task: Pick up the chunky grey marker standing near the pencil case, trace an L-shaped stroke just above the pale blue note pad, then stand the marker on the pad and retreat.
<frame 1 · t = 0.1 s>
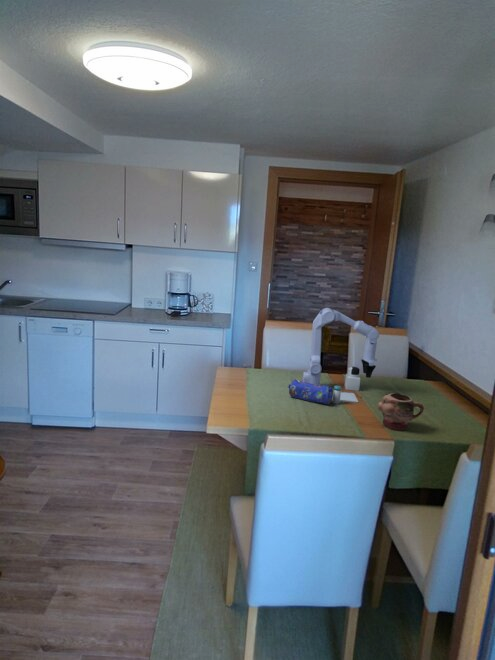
hand: (366, 375, 233), 10 cm above the table, fingers open, 7 cm apart
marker: (336, 402, 218), on the table
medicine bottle: (351, 388, 242), on the table
pencil case: (309, 400, 219), on the table
brown sculpted mug: (397, 426, 194), on the table
note pad: (347, 397, 227), on the table
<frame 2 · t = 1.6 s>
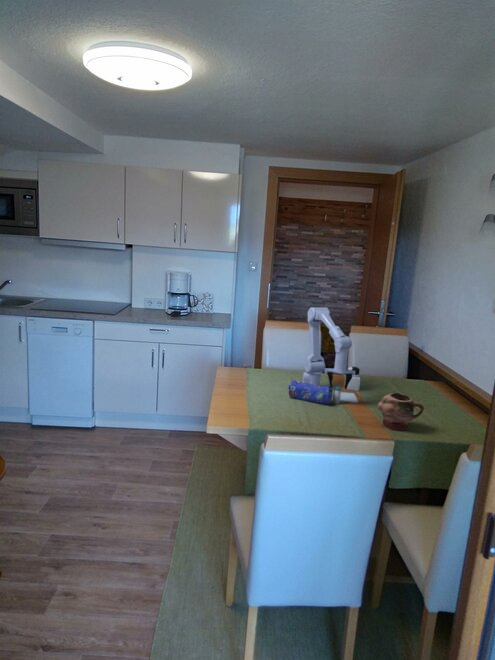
hand: (338, 387, 216), 8 cm above the table, fingers open, 7 cm apart
pencil case: (309, 401, 219), on the table, touching gripper
everything else where it was.
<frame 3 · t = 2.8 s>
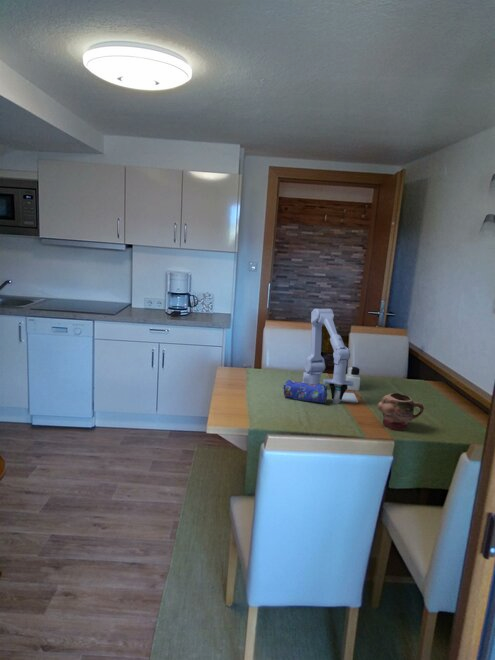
hand: (336, 398, 217), 2 cm above the table, fingers closed on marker, 3 cm apart
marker: (336, 402, 218), on the table, touching gripper
pencil case: (304, 400, 219), on the table
everything else where it was.
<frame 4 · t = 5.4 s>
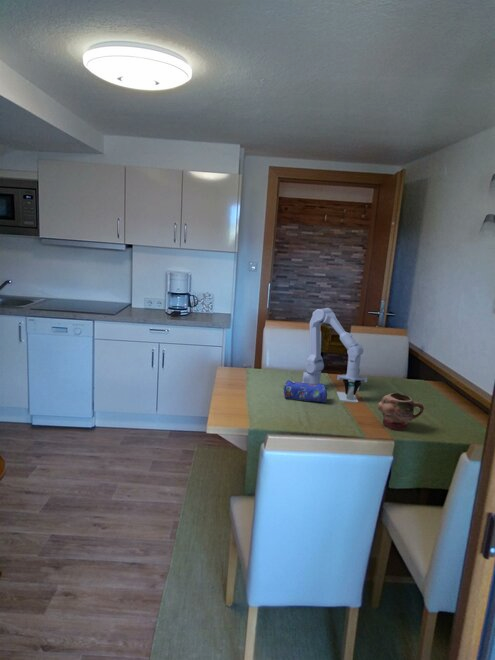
hand: (350, 394, 222), 3 cm above the table, fingers closed on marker, 3 cm apart
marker: (349, 398, 223), point 1 cm above the table, touching gripper
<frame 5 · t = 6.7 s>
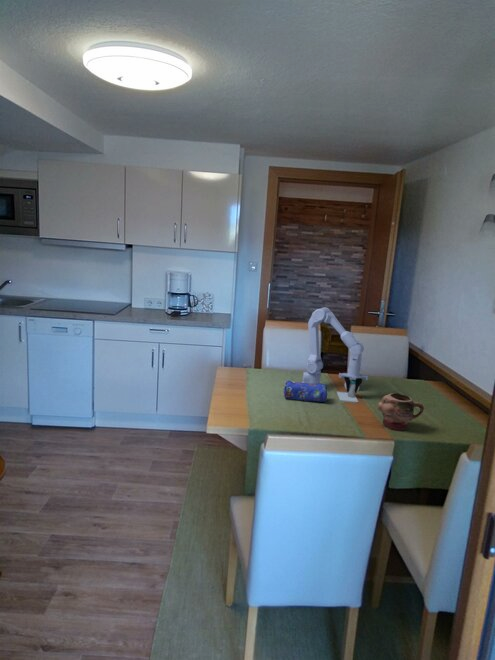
hand: (351, 391, 226), 3 cm above the table, fingers closed on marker, 3 cm apart
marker: (350, 396, 227), point 1 cm above the table, touching gripper
everything else where it was.
when the fingers open (3 cm above the table, at t = 8.0 s): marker stays where it is, resting on note pad.
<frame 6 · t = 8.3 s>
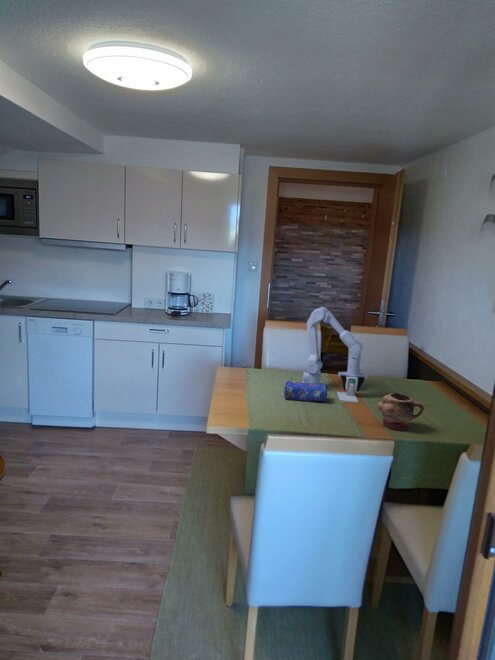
hand: (350, 390, 228), 3 cm above the table, fingers open, 6 cm apart
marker: (350, 395, 229), point 1 cm above the table, touching note pad
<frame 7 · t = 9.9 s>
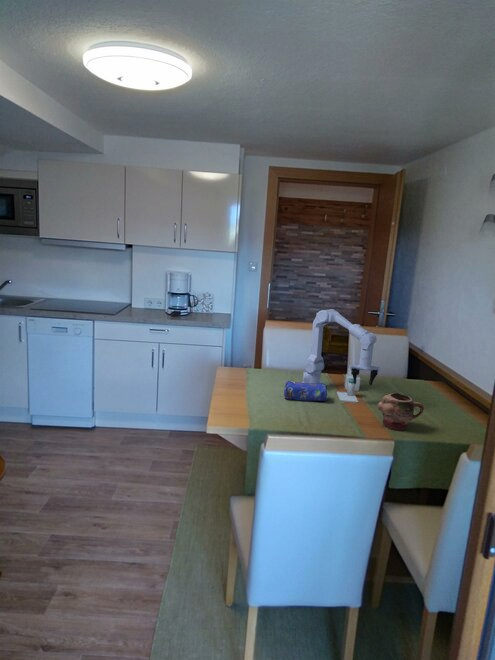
hand: (362, 384, 216), 10 cm above the table, fingers open, 7 cm apart
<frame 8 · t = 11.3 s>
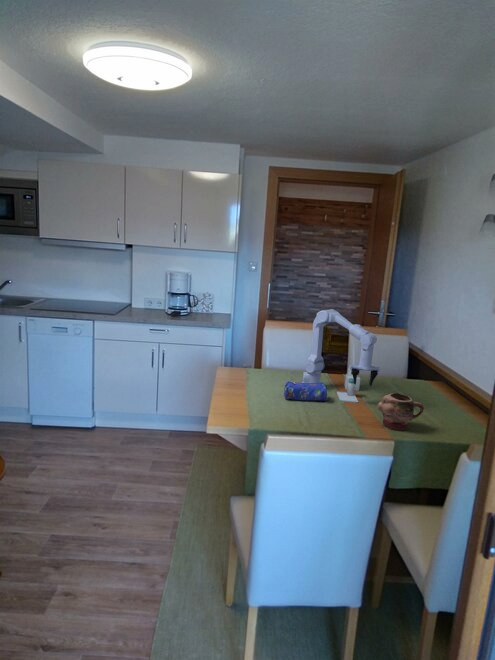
hand: (362, 384, 216), 10 cm above the table, fingers open, 7 cm apart
at the end: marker inside the target area (3.1 cm from its centre), point 0.6 cm above the table; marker tilted 0°; the gripper is holding nothing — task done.
